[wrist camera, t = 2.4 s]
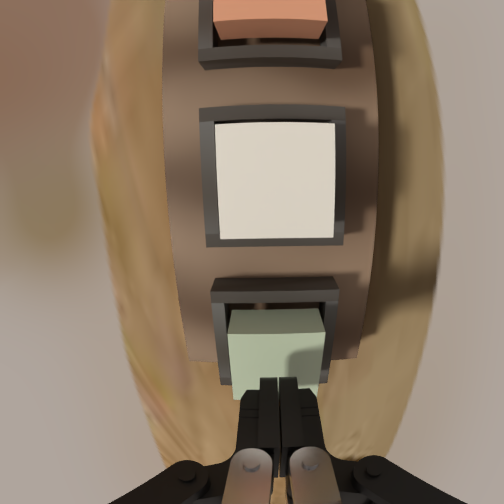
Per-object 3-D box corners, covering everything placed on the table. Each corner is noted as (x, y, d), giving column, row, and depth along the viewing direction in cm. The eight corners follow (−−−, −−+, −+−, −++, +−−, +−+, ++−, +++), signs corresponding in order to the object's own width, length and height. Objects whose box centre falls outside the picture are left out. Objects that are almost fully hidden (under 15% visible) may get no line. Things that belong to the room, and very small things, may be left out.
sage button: (232, 309, 14) (227, 334, 12) (318, 308, 14) (325, 331, 12) (236, 373, 15) (233, 399, 13) (311, 371, 15) (316, 398, 13)
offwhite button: (222, 128, 11) (214, 124, 9) (323, 127, 11) (334, 123, 9) (226, 225, 12) (220, 239, 11) (323, 224, 12) (333, 237, 10)
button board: (176, -3, 12) (158, -31, 8) (352, -5, 11) (370, -33, 8) (196, 347, 19) (185, 382, 15) (348, 344, 18) (361, 379, 15)
